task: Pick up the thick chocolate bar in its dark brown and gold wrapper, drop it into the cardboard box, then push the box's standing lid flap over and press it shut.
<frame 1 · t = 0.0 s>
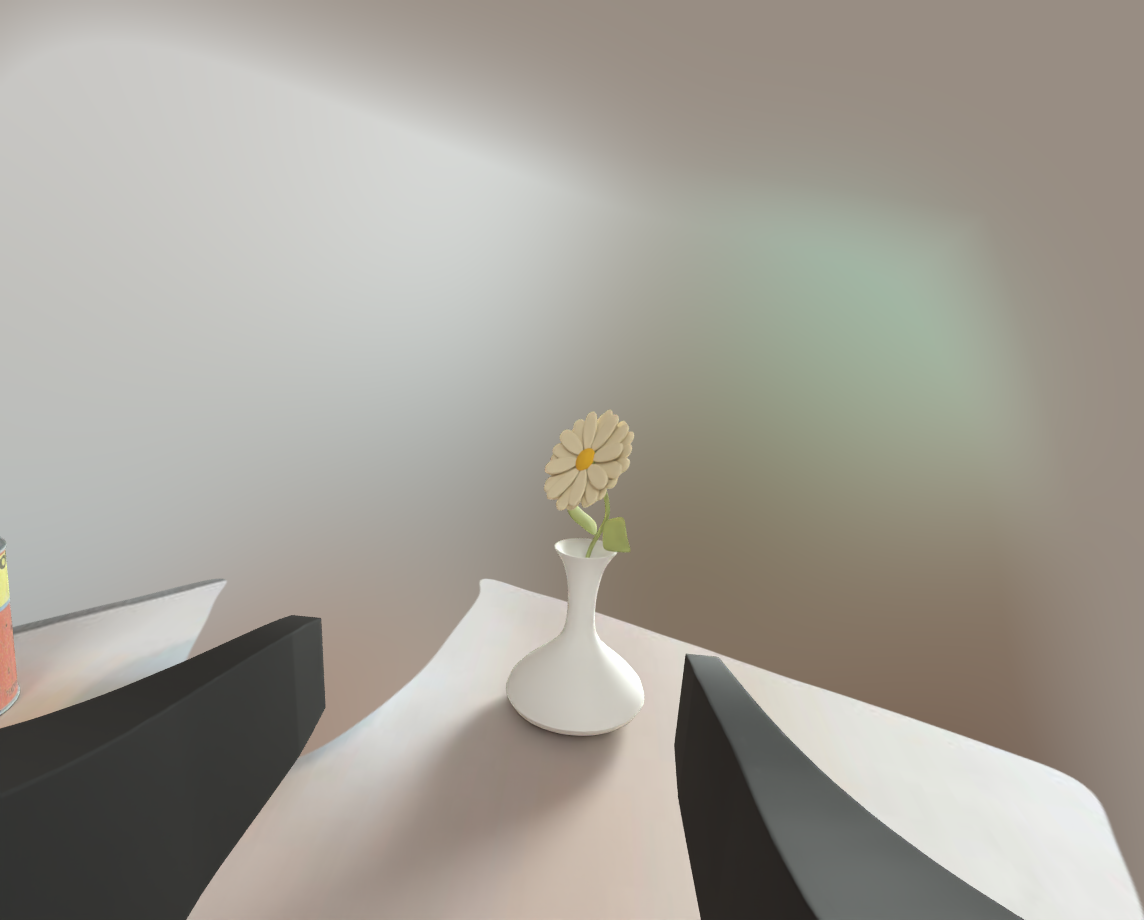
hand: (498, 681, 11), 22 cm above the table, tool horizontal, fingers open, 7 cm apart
flower in vase: (576, 714, 47), on the table
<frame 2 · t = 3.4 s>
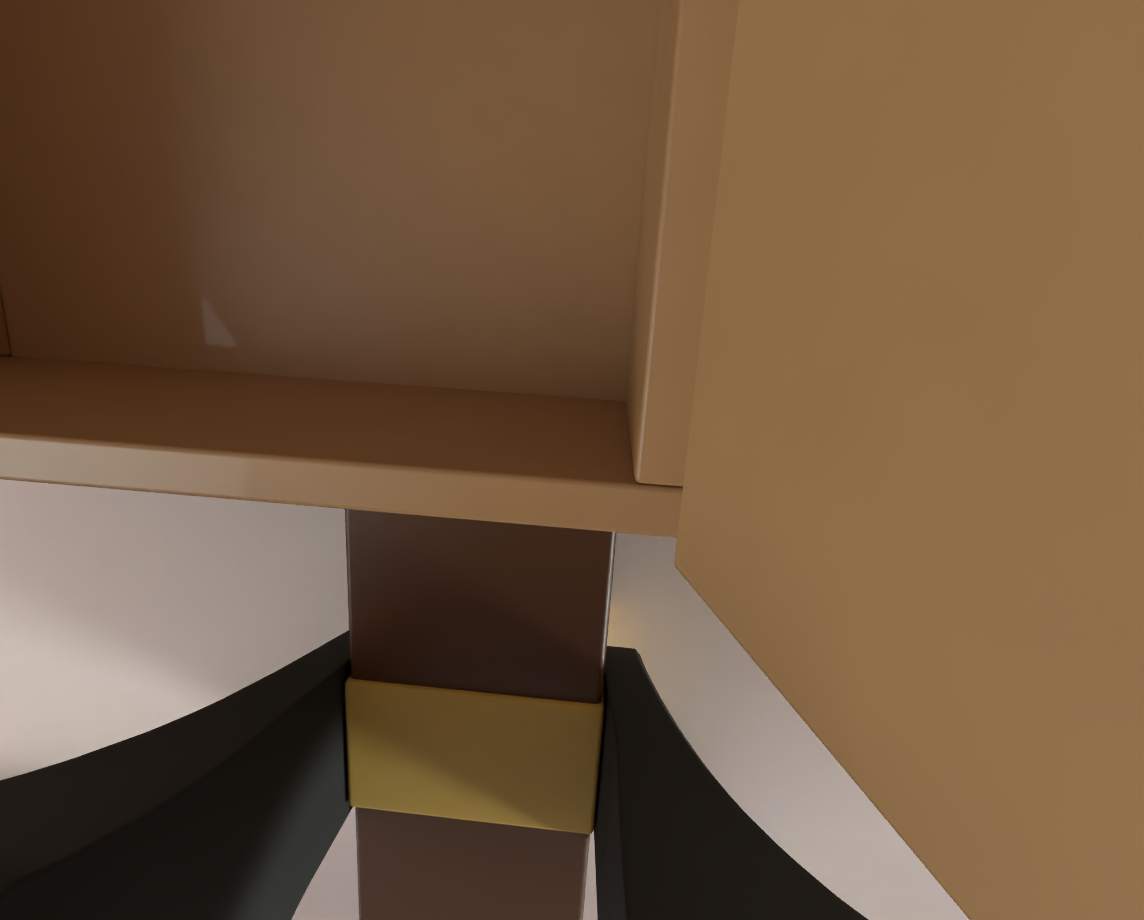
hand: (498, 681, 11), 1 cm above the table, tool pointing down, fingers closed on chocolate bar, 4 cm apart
chocolate bar: (509, 641, 13), on the table, touching gripper
cardboard box: (307, 27, 10), on the table
when the fingers open (4 cm above the table, at t = 7.6 s): chocolate bar drops 2 cm, resting on cardboard box.
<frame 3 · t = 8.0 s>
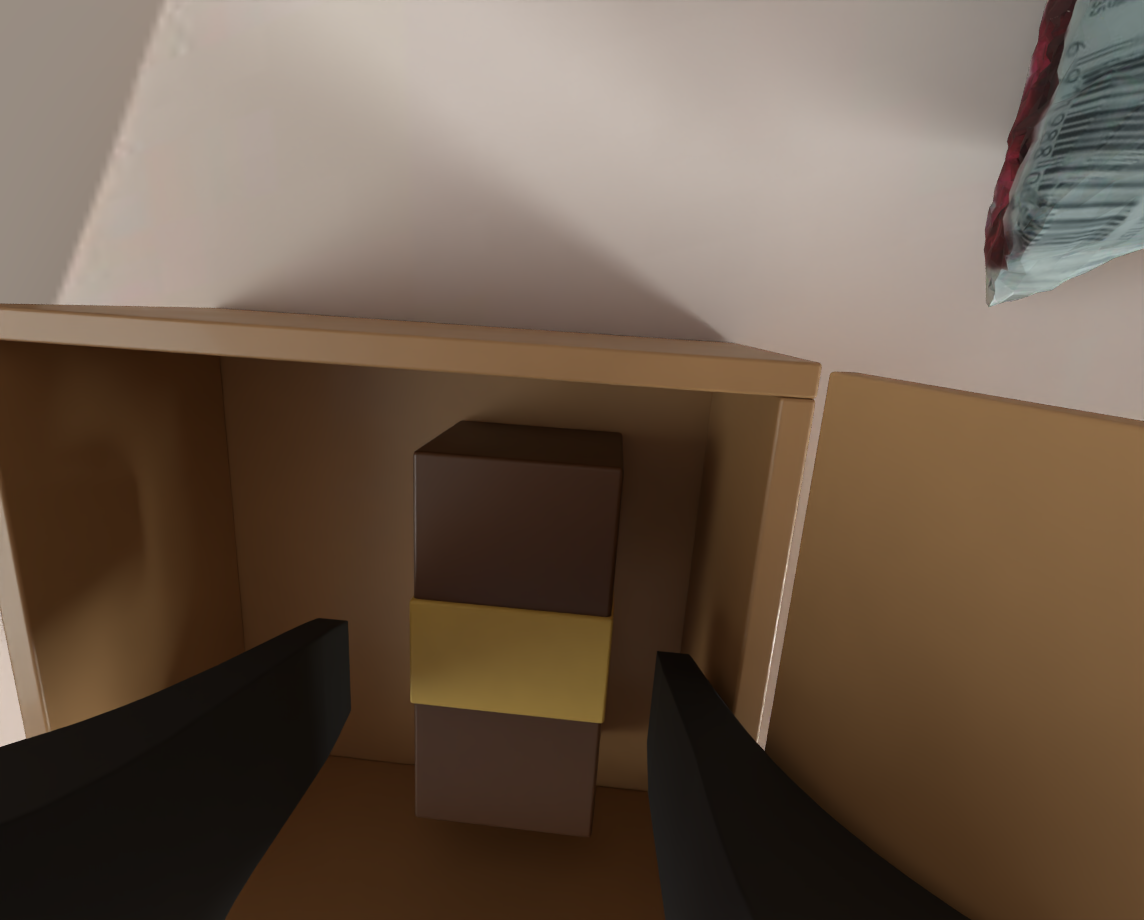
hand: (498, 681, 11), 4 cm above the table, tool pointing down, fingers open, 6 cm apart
chocolate bar: (532, 585, 15), resting on cardboard box
cardboard box: (461, 570, 16), on the table
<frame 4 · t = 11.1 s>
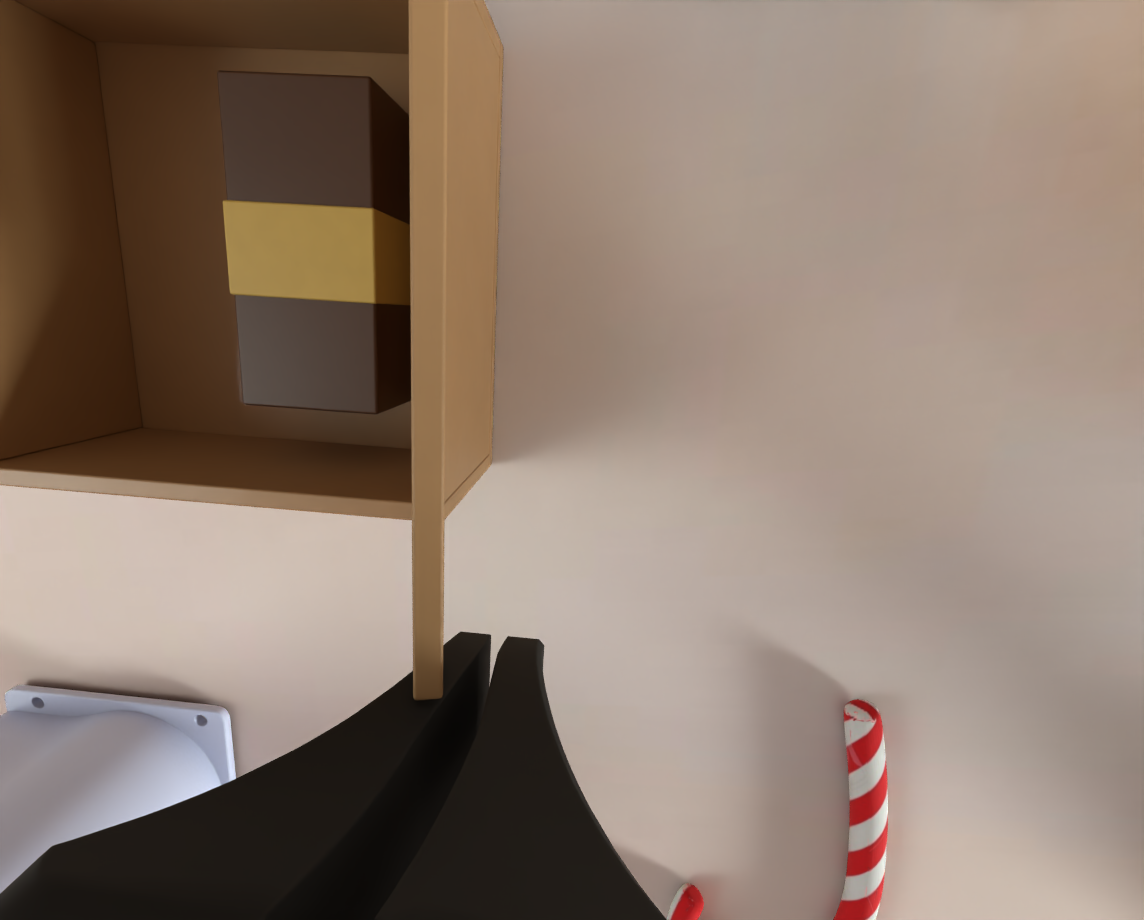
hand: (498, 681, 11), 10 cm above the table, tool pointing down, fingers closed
chocolate bar: (357, 264, 19), resting on cardboard box
candy cane: (784, 841, 24), on the table
cardboard box: (304, 261, 19), on the table
box flap: (433, 232, 9), point 10 cm above the table, hinge at 106.3°, touching gripper
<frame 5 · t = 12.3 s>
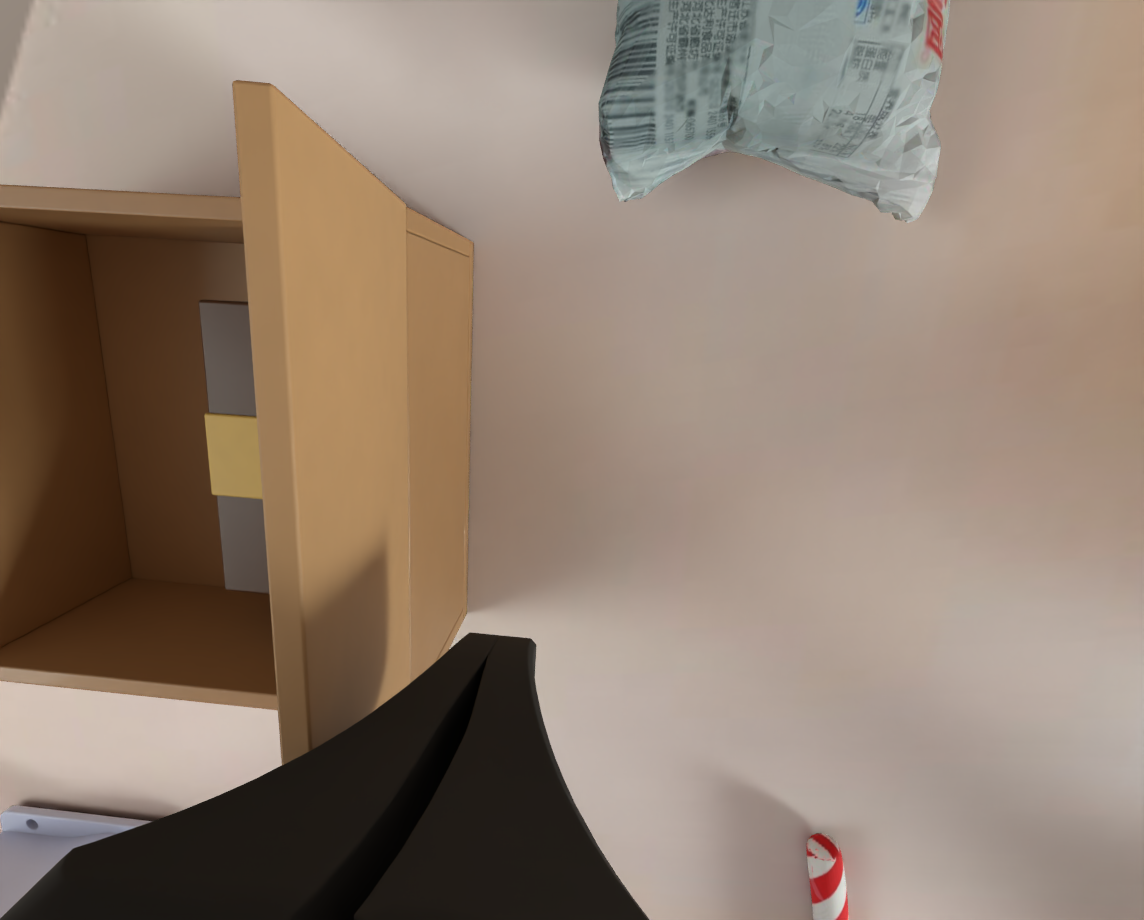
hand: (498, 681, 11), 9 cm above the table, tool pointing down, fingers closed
chocolate bar: (336, 436, 19), resting on cardboard box
cardboard box: (286, 428, 20), on the table
box flap: (361, 561, 10), point 10 cm above the table, hinge at 98.6°
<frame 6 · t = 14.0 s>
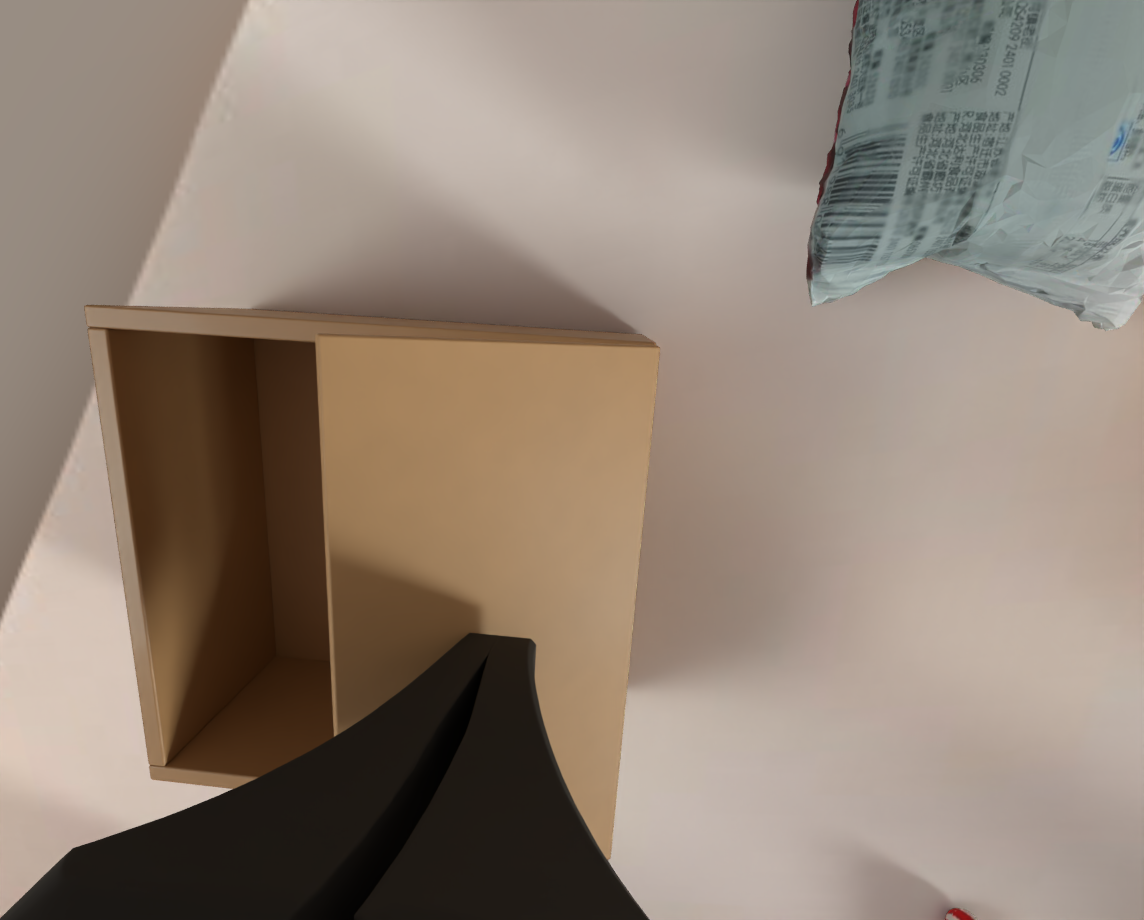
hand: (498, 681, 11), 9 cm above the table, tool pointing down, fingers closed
packaged food: (970, 98, 16), on the table
cardboard box: (440, 512, 20), on the table
box flap: (499, 661, 12), point 8 cm above the table, hinge at 33.1°, touching gripper
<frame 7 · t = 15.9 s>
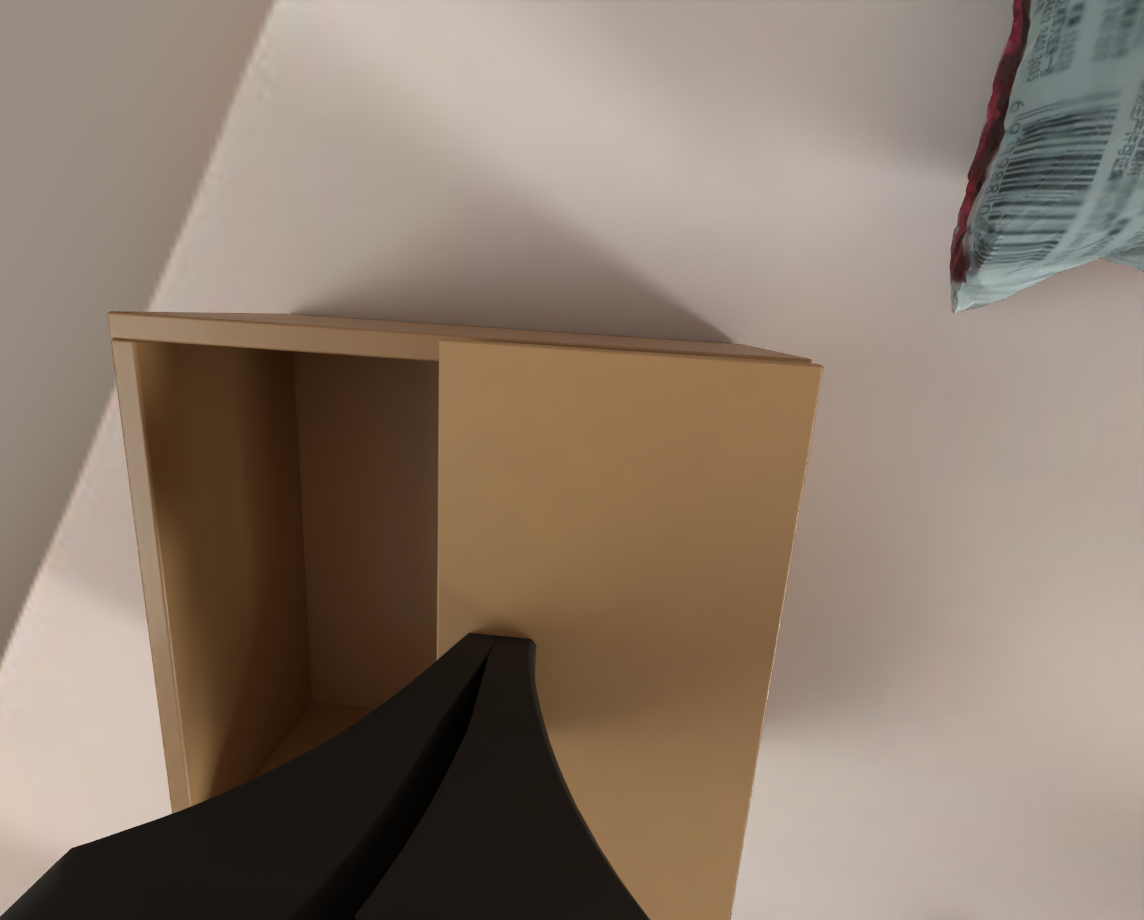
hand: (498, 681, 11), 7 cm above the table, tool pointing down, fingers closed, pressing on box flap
packaged food: (1136, 71, 14), on the table
cardboard box: (500, 543, 18), on the table
box flap: (598, 686, 11), point 7 cm above the table, hinge at -0.3°, touching gripper
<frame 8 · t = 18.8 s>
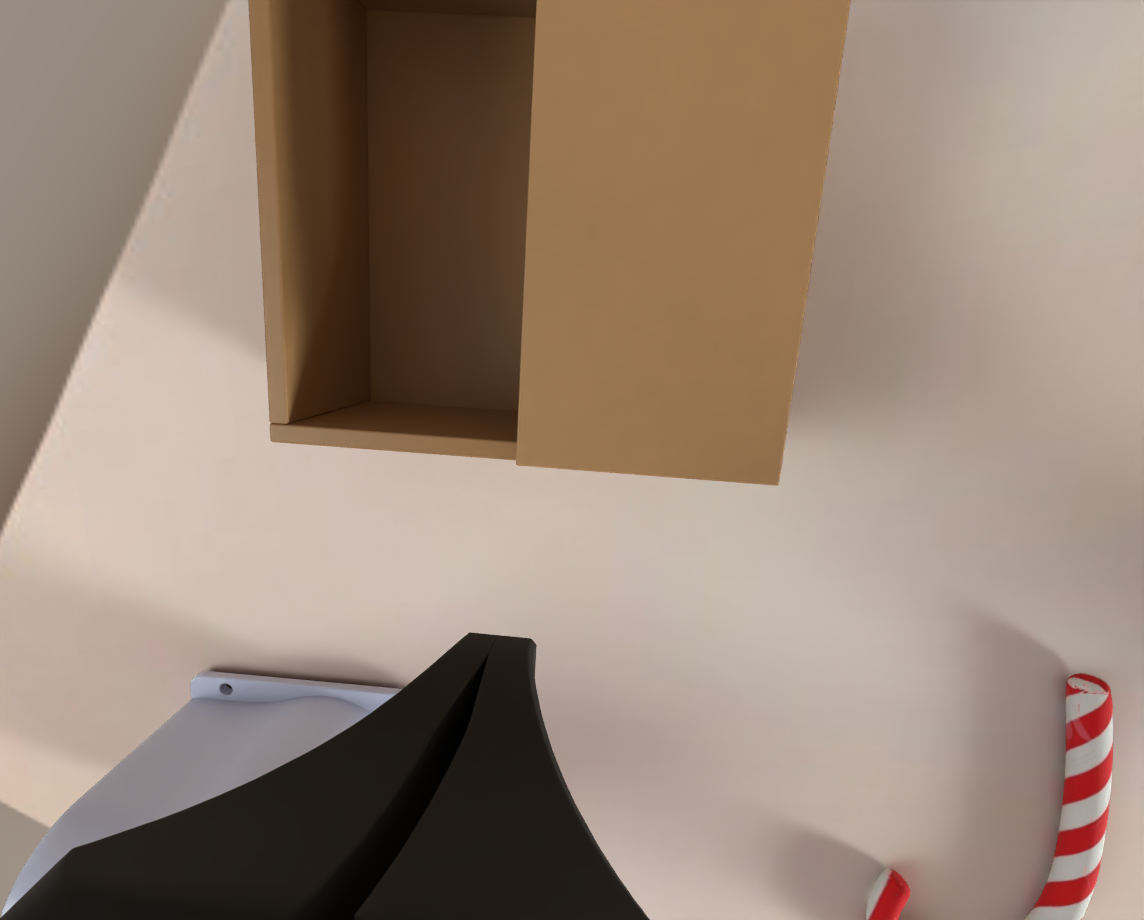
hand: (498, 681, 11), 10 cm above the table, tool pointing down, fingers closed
candy cane: (988, 822, 23), on the table
cardboard box: (551, 232, 19), on the table
box flap: (672, 190, 13), point 7 cm above the table, hinge at -0.5°
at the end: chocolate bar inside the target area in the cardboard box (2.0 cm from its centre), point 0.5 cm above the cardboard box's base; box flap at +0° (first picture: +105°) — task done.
